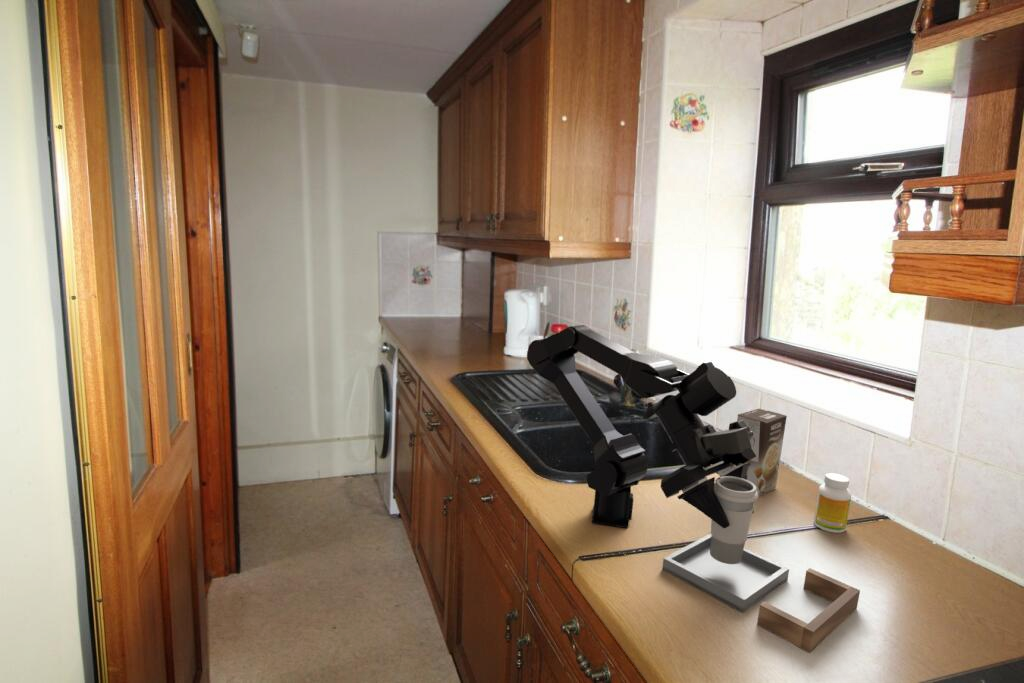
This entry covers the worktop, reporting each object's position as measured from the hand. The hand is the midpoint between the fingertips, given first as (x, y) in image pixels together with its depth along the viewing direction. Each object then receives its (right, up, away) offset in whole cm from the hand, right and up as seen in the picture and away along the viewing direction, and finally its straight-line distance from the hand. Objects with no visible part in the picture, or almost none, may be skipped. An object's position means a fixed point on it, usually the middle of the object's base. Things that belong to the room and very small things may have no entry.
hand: (739, 520), depth 96 cm
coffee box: (+16, -4, +36) cm, 40 cm away
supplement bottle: (+24, -7, +21) cm, 33 cm away
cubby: (+7, -12, -7) cm, 15 cm away
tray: (-1, -9, +3) cm, 10 cm away
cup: (-1, -6, +2) cm, 7 cm away
